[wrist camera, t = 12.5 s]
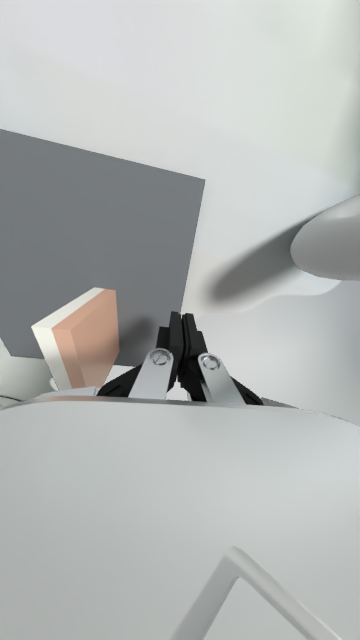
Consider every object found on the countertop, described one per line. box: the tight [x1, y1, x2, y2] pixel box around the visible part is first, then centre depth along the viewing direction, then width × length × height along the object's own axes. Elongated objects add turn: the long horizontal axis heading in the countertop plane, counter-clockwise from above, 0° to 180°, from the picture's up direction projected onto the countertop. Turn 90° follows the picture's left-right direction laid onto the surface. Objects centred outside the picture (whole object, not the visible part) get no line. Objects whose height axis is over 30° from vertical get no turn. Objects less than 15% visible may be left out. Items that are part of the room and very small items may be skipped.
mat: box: [0, 129, 205, 367], centre depth 14 cm, size 20×20×1 cm
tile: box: [31, 287, 120, 391], centre depth 13 cm, size 8×2×7 cm, turn 171°
